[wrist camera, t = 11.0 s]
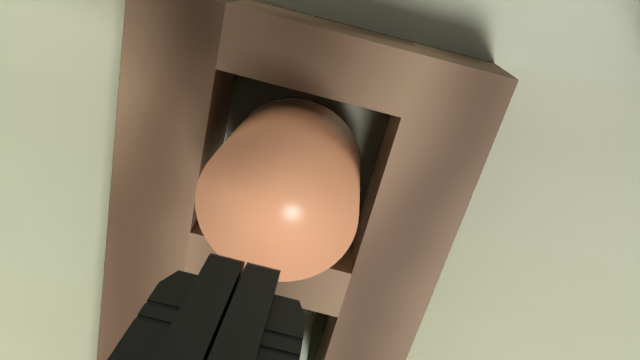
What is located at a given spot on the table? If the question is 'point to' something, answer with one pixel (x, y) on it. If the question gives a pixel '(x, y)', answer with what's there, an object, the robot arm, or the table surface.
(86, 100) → the table surface
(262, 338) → the robot arm
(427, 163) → the button board
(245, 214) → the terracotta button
